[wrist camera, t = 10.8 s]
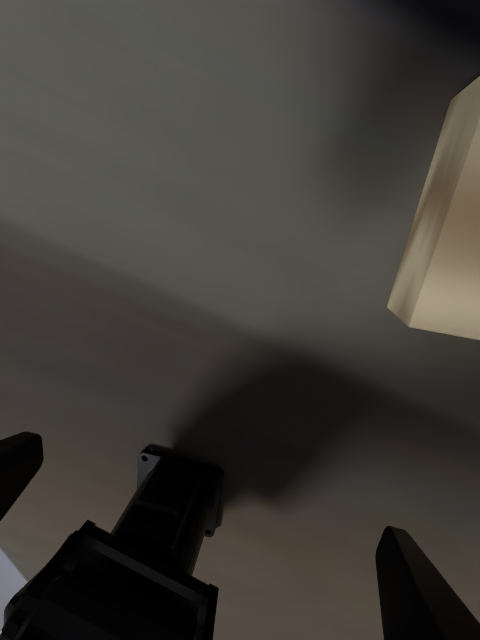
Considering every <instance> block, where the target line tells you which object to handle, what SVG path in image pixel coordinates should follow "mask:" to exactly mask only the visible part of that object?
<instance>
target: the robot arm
mask: <svg viewBox="0 0 480 640" xmlns="http://www.w3.org/2000/svg"><path fill="white" fill-rule="evenodd" d="M145 456H146V457H145ZM42 463H43V446H42V438H41V436H40V435H39V434H35V433H32V432H22V433H19V434H16V435H13V436H11V437H8V438H5V439H3V440H0V521H1V520H2V518H3V517H4V516H5V514H6V513H7V512H8V510H9V509H10V508H11V506H12V505H13V504H14V502H15V501H16V500H17V498H18V497H19V496H20V494H21V493H22V492H23V490H24V489H25V488H26V486H27V485H28V484H29V482H30V481H31V480H32V478H33V477H34V476H35V474H36V473H37V471H38V470H39V469H40V467H41V465H42ZM215 474H217V475H218V476H217V475H215ZM223 476H224V472H223V470H222V469H220V468H218V467H214V466H210V465H206V464H202V463H199V462H195V461H191V460H187V459H183V458H179V457H175V456H171V455H167V454H163V453H159V452H155V451H152V450H148V449H144V450H142V451H141V453H140V454H139V456H138V479H137V491H136V492H135V494H134V495H133V497H132V499H131V500H130V502H129V504H128V505H127V507H126V509H125V510H124V512H123V513H122V515H121V517H120V518H119V520H118V522H117V523H116V525H115V527H114V528H113V530H112V531H111V533H108V532H106V531H105V530H103V529H101V528H99V527H97V526H95V525H96V524H95V523H93V522H91V521H90V520H87V521H86V522H85V523H84V525H83V526H82V527H81V528H80V529H79V530H78V531H75V532H74V533H73V534H70V535H69V537H68V538H67V539H66V541H65V542H64V544H63V545H62V546H61V548H60V549H59V550H58V552H57V553H56V554H55V555H54V556H53V558H52V559H51V560H50V561H49V562H48V563H47V565H46V566H45V567H44V568H43V569H42V570H41V571H40V572H39V573H37V574H36V575H35V576H34V577H33V578H32V579H31V580H30V581H29V582H28V583H27V584H26V585H25V586H24V587H23V588H22V589H21V590H20V591H19V592H17V593H16V594H15V595H14V596H13V598H12V599H11V600H10V602H9V603H8V604H7V606H6V608H5V610H4V626H3V628H2V630H1V632H0V640H213V631H214V623H215V614H216V606H217V597H218V587H216V586H214V585H212V584H209V585H208V584H206V583H204V582H202V581H200V580H198V579H196V578H194V577H193V576H192V574H193V571H194V567H195V564H196V561H197V557H198V554H199V551H200V548H201V544H202V541H203V538H204V536H207V537H212V536H213V535H214V533H215V529H216V522H217V516H218V509H219V503H220V496H221V490H222V483H223ZM376 569H377V579H378V588H379V597H380V607H381V616H382V626H383V634H384V640H480V623H479V622H478V621H477V620H476V618H475V617H474V616H473V614H472V613H471V612H470V611H469V609H468V608H467V607H466V606H465V604H464V603H463V602H462V601H461V599H460V598H459V597H458V595H457V594H456V593H455V592H454V590H453V589H452V588H451V587H450V585H449V584H448V583H447V582H446V580H445V579H444V578H443V576H442V575H441V574H440V573H439V571H438V570H437V569H436V568H435V566H434V565H433V564H432V563H431V561H430V560H429V559H428V557H427V556H426V555H425V554H424V552H423V551H422V550H421V549H420V547H419V546H418V545H417V544H416V542H415V541H414V540H413V538H412V537H411V536H410V535H409V534H408V533H407V532H406V531H405V530H403V529H399V528H396V527H392V526H387V527H386V528H385V529H384V532H383V534H382V537H381V539H380V542H379V544H378V547H377V550H376Z"/></svg>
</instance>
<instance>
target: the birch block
mask: <svg viewBox="0 0 480 640" xmlns="http://www.w3.org/2000/svg"><path fill="white" fill-rule="evenodd" d="M387 307H388V308H389V309H390V310H391V311H392V312H393V313H394V314H395V315H396V316H397V317H398V318H399V319H401V320H402V321H403V322H404V323H405V324H406V325H407V326H408V327H412V328H417V329H422V330H428V331H433V332H439V333H444V334H449V335H455V336H460V337H466V338H471V339H476V340H480V76H479V77H478V78H477V79H476V80H474V81H473V82H472V83H471V84H469V85H468V86H467V87H466V88H465V89H463V90H462V91H461V92H460V93H458V94H457V95H456V96H455V97H454V98H452V99H451V101H450V104H449V108H448V111H447V114H446V117H445V121H444V124H443V127H442V130H441V134H440V137H439V140H438V143H437V147H436V150H435V153H434V156H433V159H432V163H431V166H430V169H429V172H428V176H427V179H426V182H425V185H424V189H423V192H422V195H421V198H420V202H419V205H418V208H417V211H416V215H415V218H414V221H413V224H412V227H411V231H410V234H409V237H408V240H407V244H406V247H405V250H404V253H403V257H402V260H401V263H400V266H399V270H398V273H397V276H396V279H395V283H394V286H393V289H392V292H391V295H390V299H389V302H388V305H387Z"/></svg>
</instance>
